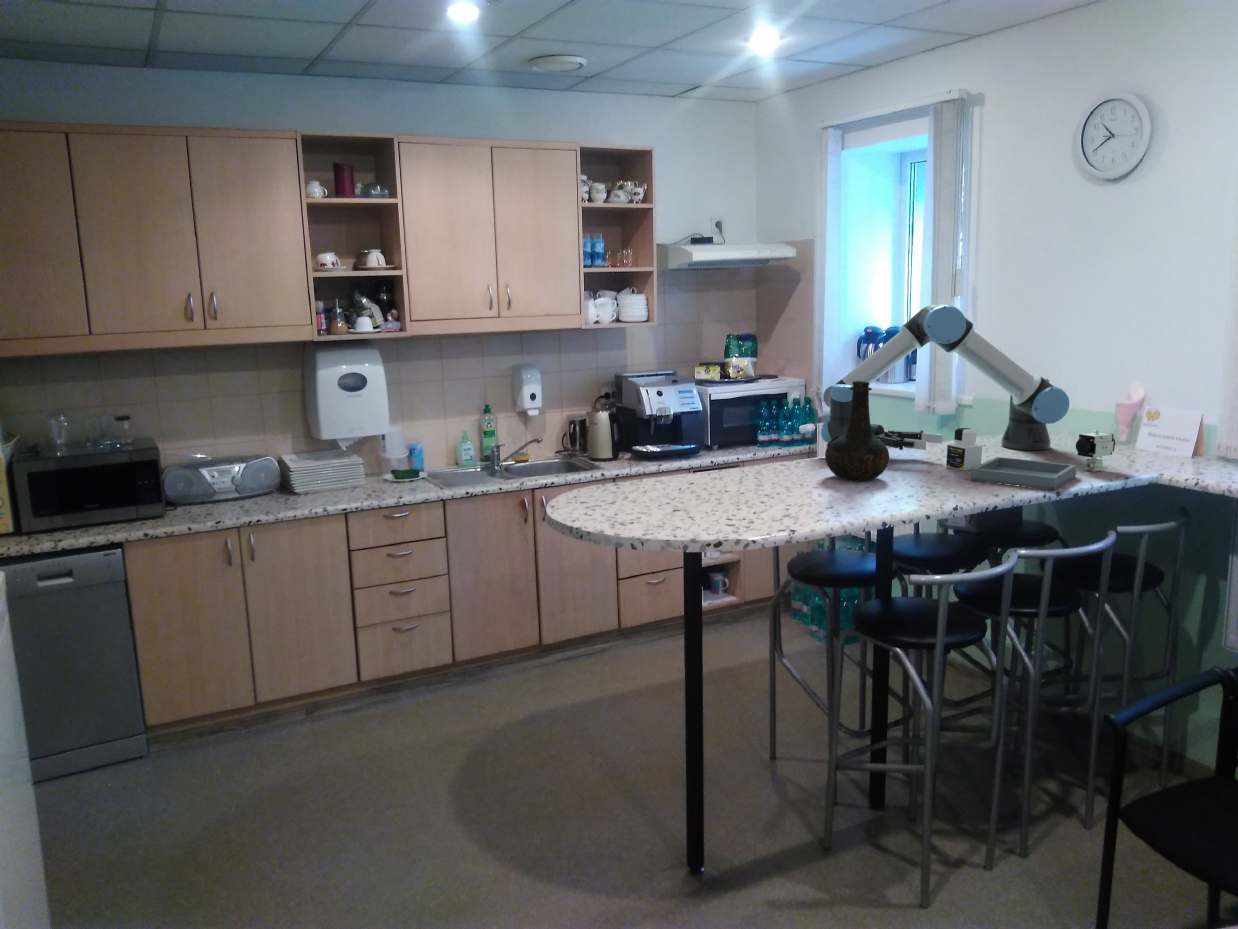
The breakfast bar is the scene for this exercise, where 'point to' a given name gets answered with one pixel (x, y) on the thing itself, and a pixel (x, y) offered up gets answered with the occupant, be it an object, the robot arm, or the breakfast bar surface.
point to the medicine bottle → (964, 450)
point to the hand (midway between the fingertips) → (934, 442)
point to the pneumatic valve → (1095, 448)
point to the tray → (1024, 473)
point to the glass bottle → (857, 443)
